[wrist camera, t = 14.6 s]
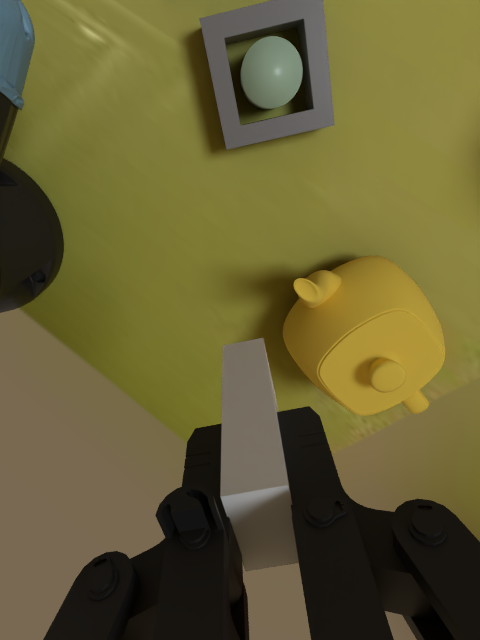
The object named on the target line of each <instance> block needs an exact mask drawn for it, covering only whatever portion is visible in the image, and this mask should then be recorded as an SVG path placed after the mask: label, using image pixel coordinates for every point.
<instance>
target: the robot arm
mask: <svg viewBox="0 0 480 640" xmlns="http://www.w3.org/2000/svg"><path fill="white" fill-rule="evenodd" d="M34 42H35V34H34V28H33V24H32V21H31V18H30V16H29V14H28V12H27V10H26V8H25V7H24V5H23V3H22V2H21V0H0V313H1V312H5V311H10V310H13V309H16V308H19V307H21V306H23V305H25V304H27V303H29V302H31V301H32V300H34V299H35V298H36V297H37V296H39V295H40V294H41V293H42V292H43V291H44V290H45V289H46V288H47V287H48V286H49V285H50V284H51V283H52V282H53V280H54V279H55V277H56V275H57V274H58V271H59V269H60V266H61V263H62V259H63V251H64V242H63V233H62V229H61V225H60V221H59V219H58V216H57V214H56V212H55V209H54V208H53V206H52V204H51V202H50V201H49V199H48V197H47V196H46V195H45V193H44V192H43V191H42V189H41V188H40V187H39V186H38V185H37V183H36V182H35V181H34V180H33V179H32V178H31V177H30V176H28V175H27V174H26V173H25V172H24V171H22V170H21V169H20V168H18V167H17V166H16V165H14V164H13V163H11V162H9V161H7V160H6V159H4V158H3V156H4V153H5V150H6V146H7V143H8V140H9V137H10V134H11V131H12V128H13V125H14V121H15V118H16V115H17V112H18V109H20V110H22V108H23V106H24V100H23V98H22V92H23V88H24V84H25V80H26V76H27V72H28V68H29V64H30V60H31V56H32V52H33V48H34ZM184 468H185V470H184V474H183V482H182V487H180V488H177V489H176V490H174V491H173V492H171V493H170V494H169V495H167V496H166V497H165V499H164V500H163V501H162V502H161V503H160V505H159V507H158V510H157V513H156V517H157V520H158V522H159V524H160V526H161V528H162V531H163V533H164V535H165V537H166V538H165V539H164V540H163V541H161V542H160V543H159V544H157V545H156V546H154V547H153V548H151V549H149V550H147V551H145V552H143V553H141V554H139V555H137V556H135V557H133V558H131V559H129V558H128V556H127V555H126V554H123V553H121V552H118V551H114V552H106V553H104V554H102V555H100V556H98V557H96V558H94V559H93V560H92V561H91V562H90V563H88V564H87V565H86V566H85V567H84V568H83V569H82V571H81V572H80V574H79V575H78V576H77V578H76V579H75V581H74V583H73V585H72V587H71V589H70V591H69V593H68V594H67V596H66V598H65V600H64V602H63V604H62V606H61V607H60V609H59V611H58V613H57V615H56V617H55V619H54V621H53V622H52V624H51V626H50V628H49V630H48V632H47V634H46V636H45V637H44V639H43V640H249V622H248V600H247V593H246V589H245V585H244V583H243V570H242V562H243V565H244V568H245V571H250V570H257V569H263V568H269V567H276V566H282V565H288V564H294V563H299V566H300V572H301V578H302V584H303V591H304V597H305V604H306V610H307V616H308V622H309V628H310V635H311V640H394V639H393V636H392V633H391V630H390V627H389V624H388V620H387V617H386V614H385V611H388V612H392V613H397V614H402V615H403V617H404V619H405V620H406V622H407V624H408V625H409V627H410V629H411V630H412V632H413V634H414V635H415V637H416V639H417V640H480V542H479V541H478V540H477V538H476V537H475V536H474V535H473V534H472V533H471V532H470V531H469V530H468V529H467V527H466V526H465V525H464V524H463V523H462V522H461V521H460V520H459V518H458V517H457V516H456V515H455V514H453V513H452V512H451V511H450V510H449V509H447V508H446V507H445V506H443V505H441V504H438V503H436V502H434V501H430V500H423V499H415V500H410V501H406V502H404V503H403V504H402V505H400V506H399V507H397V509H396V511H395V512H390V511H382V510H375V509H371V508H367V507H364V506H362V505H360V504H358V503H356V502H355V501H353V500H352V499H351V498H350V497H349V496H348V495H347V494H346V493H345V491H344V489H343V488H342V485H341V482H340V479H339V477H338V473H337V470H336V467H335V464H334V460H333V457H332V454H331V451H330V448H329V444H328V442H327V438H326V435H325V432H324V429H323V425H322V422H321V419H320V416H319V415H318V414H317V413H316V412H315V411H314V410H313V409H311V408H310V407H309V406H308V407H303V408H297V409H292V410H287V411H281V412H278V406H277V401H276V395H275V391H274V386H273V381H272V377H271V372H270V367H269V363H268V358H267V353H266V348H265V344H264V339H263V338H259V339H254V340H249V341H244V342H239V343H234V344H229V345H224V346H223V373H222V424H217V425H212V426H206V427H201V428H196V429H195V430H194V432H193V434H192V435H191V437H190V438H189V440H188V442H187V450H186V459H185V466H184Z"/></svg>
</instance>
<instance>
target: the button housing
mask: <svg viewBox="0 0 480 640" xmlns="http://www.w3.org/2000/svg"><path fill="white" fill-rule="evenodd" d="M200 23H201V28H202V33H203V38H204V43H205V48H206V52H207V57H208V62H209V67H210V72H211V77H212V82H213V87H214V92H215V96H216V101H217V106H218V111H219V116H220V121H221V126H222V131H223V135H224V140H225V145H226V150H227V149H232V148H236V147H241V146H245V145H249V144H254V143H258V142H263V141H267V140H271V139H276V138H280V137H285V136H289V135H293V134H298V133H302V132H307V131H311V130H315V129H320V128H324V127H329V126H333V125H334V115H333V104H332V93H331V82H330V71H329V60H328V49H327V38H326V27H325V16H324V5H323V0H272V1H268V2H264V3H260V4H256V5H252V6H248V7H244V8H240V9H236V10H232V11H228V12H224V13H220V14H216V15H212V16H208V17H204V18H200ZM296 27H298V36H299V44H300V53H301V61H302V68H303V79H304V87H305V96H306V104H307V110H305V111H301V112H296V113H292V114H288V115H283V116H279V117H275V118H270V119H266V120H262V121H257V122H253V123H249V124H244V125H240V121H239V115H238V110H237V104H236V99H235V94H234V88H233V83H232V78H231V72H230V67H229V61H228V56H227V51H226V44H231V43H235V42H239V41H243V40H247V39H251V38H255V37H259V36H263V35H267V34H271V33H275V32H280V31H284V30H288V29H292V28H296Z"/></svg>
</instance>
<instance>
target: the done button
mask: <svg viewBox="0 0 480 640" xmlns="http://www.w3.org/2000/svg"><path fill="white" fill-rule="evenodd" d="M302 74H303V68H302V61H301V58H300V55H299V53H298V51H297V50H296V48H295V47H294V46H293V45H292V44H291V43H290V42H289V41H287V40H286V39H284V38H281V37H277V36H269V37H265V38H262V39H260V40H258V41H257V42H255V43H254V44H253V45H252V46H251V47H250V49H249V50H248V52H247V53H246V55H245V57H244V60H243V63H242V67H241V72H240V84H241V88H242V91H243V93H244V95H245V97H246V98H247V100H248V101H249V102H250V103H251V104H253V105H254V106H256V107H258V108H261V109H273V108H277V107H280V106H282V105H284V104H286V103H288V102H289V101H290V100H291V99H292V98H293V97H294V96H295V94H296V93H297V91H298V89H299V87H300V84H301V81H302Z"/></svg>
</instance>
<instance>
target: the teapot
mask: <svg viewBox="0 0 480 640" xmlns="http://www.w3.org/2000/svg"><path fill="white" fill-rule="evenodd" d="M293 286H294V289H295V291H296V293H297V294H298V297H299V299H298V300H297V301H296V303H295V304H294V306H293V307H292V308H291V310H290V311H289V313H288V315H287V317H286V319H285V322H284V325H283V339H284V342H285V345H286V348H287V350H288V352H289V353H290V355H291V356H292V358H293V359H294V361H295V362H296V363H297V365H298V366H299V368H300V369H301V370H302V371H303V373H304V374H305V375H306V376H307V377H308V378H309V379H310V380H311V381H312V382H313V383H314V384H315V385H316V386H317V387H318V388H319V389H320V390H322V391H323V392H324V393H325V394H327V395H328V396H329V397H331V398H332V399H333V400H335V401H336V402H338V403H339V404H340V405H342V406H343V407H345V408H346V409H348V410H349V411H351V412H353V413H355V414H358V415H372V414H376V413H379V412H381V411H384V410H386V409H388V408H390V407H392V406H394V405H396V404H398V403H400V402H403V404H404V405H405V406H406V407H407V408H408V410H409V411H410V412H411V413H413V414H417V413H420V412H422V411H424V410H425V409H427V407H428V406H429V402H428V401H427V399H426V398H425V396H424V395H423V394H422V392H421V391H420V389H421V388H422V387H423V386H424V385H425V384H427V383H428V382H429V381H430V380H431V379H432V378H433V377H434V376H435V375H436V374H437V373H438V371H439V370H440V369H441V367H442V365H443V363H444V359H445V346H444V338H443V333H442V328H441V325H440V323H439V321H438V318H437V316H436V314H435V312H434V310H433V309H432V307H431V305H430V303H429V302H428V300H427V298H426V297H425V295H424V294H423V292H422V291H421V290H420V288H419V287H418V286H417V285H416V283H415V282H414V281H413V280H412V279H411V278H410V277H409V276H408V275H407V274H406V273H405V272H404V271H403V270H402V269H401V268H400V267H398V266H397V265H396V264H395V263H394V262H392V261H391V260H389V259H387V258H384V257H380V256H365V257H360V258H357V259H354V260H351V261H349V262H347V263H345V264H342V265H340V266H339V267H337V268H335V269H333V270H331V271H327V270H320V271H316V272H314V273H312V274H311V275H309V276H308V277H307V278H306V279H304V278H298V279H296V280H295V281H294V284H293Z"/></svg>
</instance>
